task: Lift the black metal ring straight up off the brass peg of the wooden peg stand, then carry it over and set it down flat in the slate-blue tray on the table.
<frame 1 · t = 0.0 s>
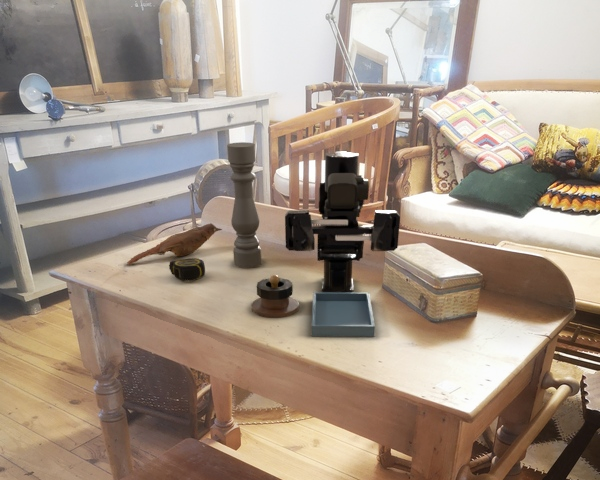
hand: (343, 246, 91), 17 cm above the table, tool horizontal, fingers open, 9 cm apart
tray: (341, 318, 109), on the table
candle holder: (247, 264, 134), on the table
wooden peg stand: (275, 308, 113), on the table
tape measure: (187, 278, 127), on the table
ring: (274, 293, 111), point 3 cm above the table, touching wooden peg stand
bird sculpture: (178, 255, 140), on the table
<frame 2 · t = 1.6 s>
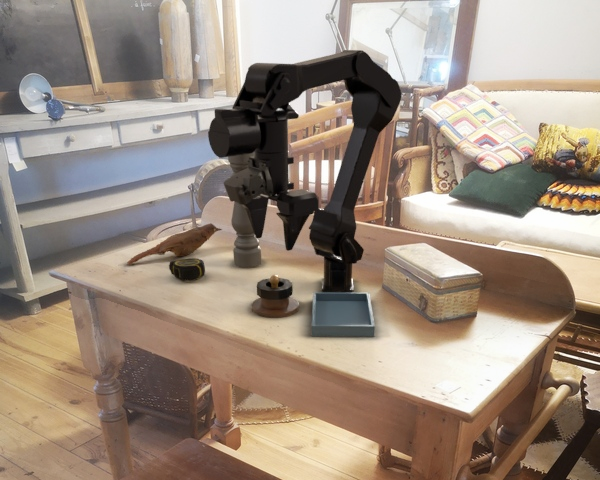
hand: (273, 243, 106), 12 cm above the table, tool pointing down, fingers open, 9 cm apart
nothing on the table moved.
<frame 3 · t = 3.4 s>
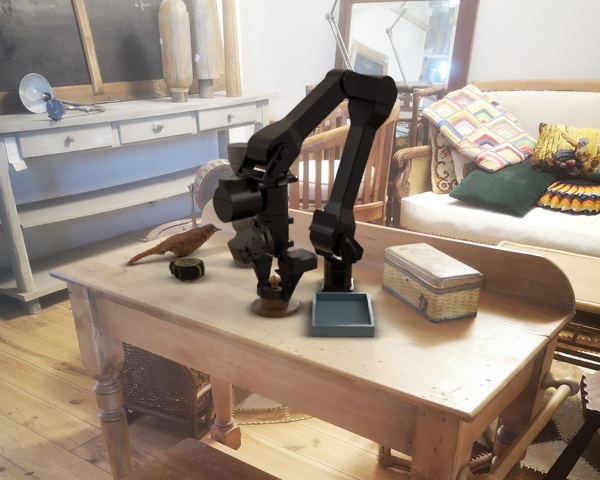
hand: (275, 296, 112), 2 cm above the table, tool pointing down, fingers closed on ring, 7 cm apart
ring: (274, 293, 111), point 3 cm above the table, touching gripper, wooden peg stand
everything else where it was.
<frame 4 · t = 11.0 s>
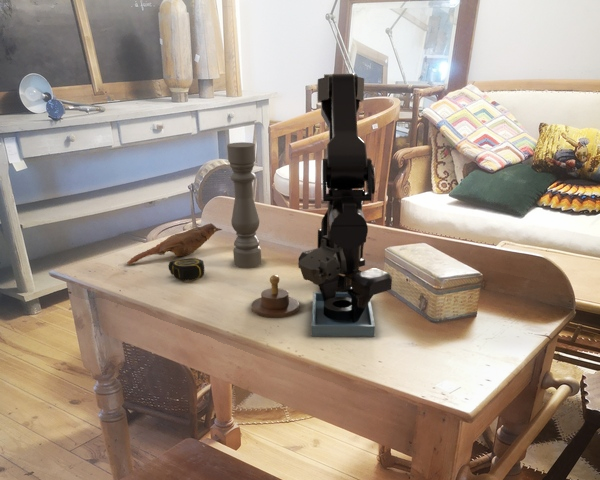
hand: (341, 315, 108), 1 cm above the table, tool pointing down, fingers closed on ring, 7 cm apart
ring: (341, 312, 108), point 1 cm above the table, touching gripper
everything else where it was.
when the fingers open (1 cm above the table, at t = 15.4 s): ring drops 1 cm, resting on tray.
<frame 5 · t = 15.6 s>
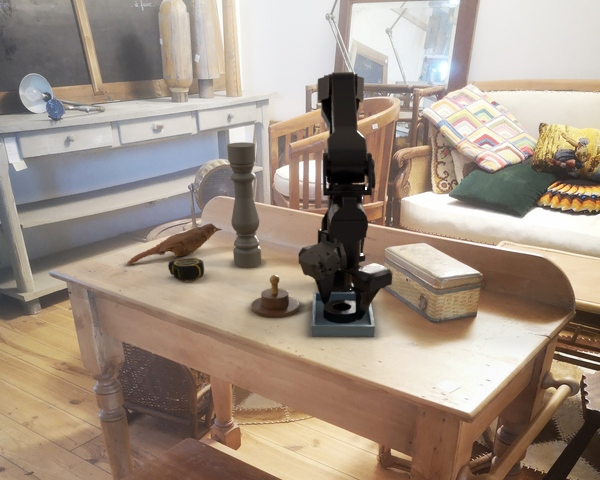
hand: (342, 311, 108), 1 cm above the table, tool pointing down, fingers open, 9 cm apart
ring: (341, 315, 108), resting on tray
everything else where it was.
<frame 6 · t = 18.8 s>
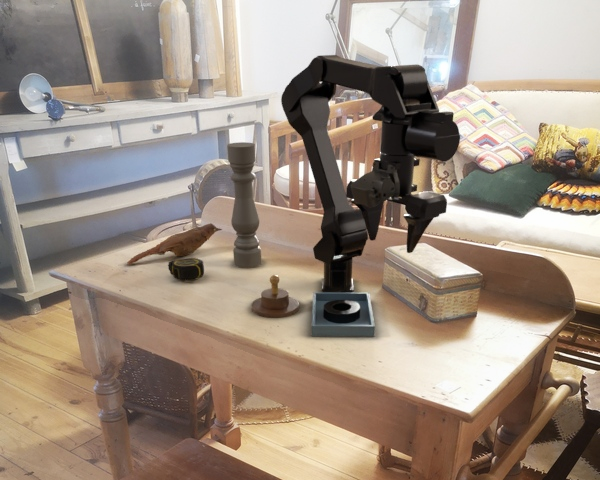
hand: (390, 246, 106), 12 cm above the table, tool pointing down, fingers open, 9 cm apart
nothing on the table moved.
at the end: ring inside the target area in the tray (0.1 cm from its centre), point 0.5 cm above the tray's base; the gripper is holding nothing; ring tilted 0° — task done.
